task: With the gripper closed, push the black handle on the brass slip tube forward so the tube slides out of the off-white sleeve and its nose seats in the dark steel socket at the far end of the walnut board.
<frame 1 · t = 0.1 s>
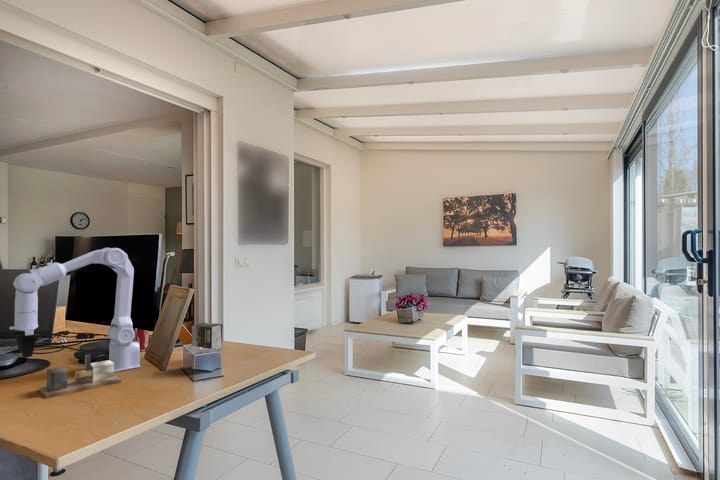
hand: (25, 354, 132), 10 cm above the table, tool pointing down, fingers open, 7 cm apart
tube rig: (81, 385, 133), on the table
soda can: (141, 350, 178), on the table
slip tube: (92, 365, 135), point 6 cm above the table, slide at 0.0 cm
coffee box: (206, 369, 153), on the table
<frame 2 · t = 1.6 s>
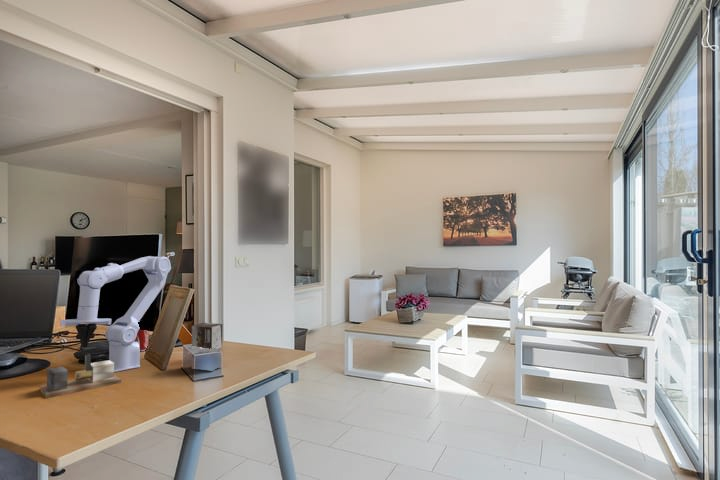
hand: (83, 346, 141), 10 cm above the table, tool pointing down, fingers closed
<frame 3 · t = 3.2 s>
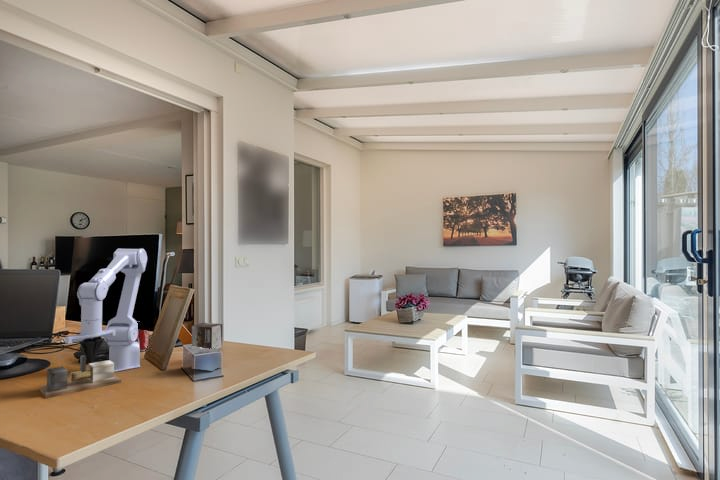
hand: (90, 361, 135), 7 cm above the table, tool pointing down, fingers closed
slip tube: (88, 366, 134), point 6 cm above the table, slide at 1.3 cm, touching gripper
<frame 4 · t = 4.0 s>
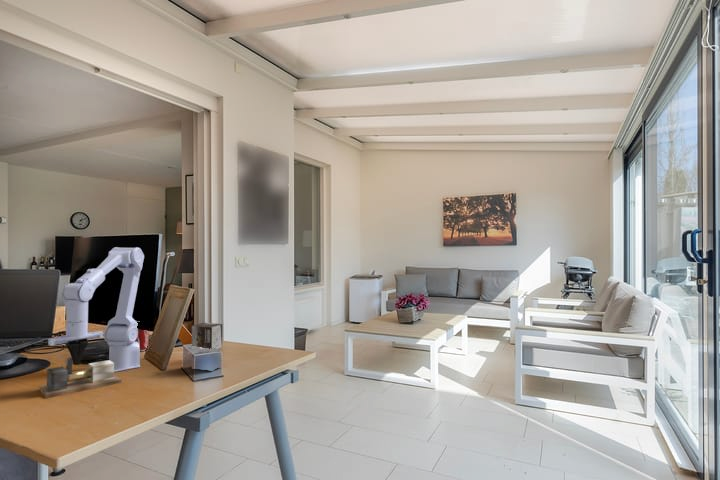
hand: (76, 364, 132), 7 cm above the table, tool pointing down, fingers closed
slip tube: (74, 369, 132), point 6 cm above the table, slide at 5.1 cm, touching gripper
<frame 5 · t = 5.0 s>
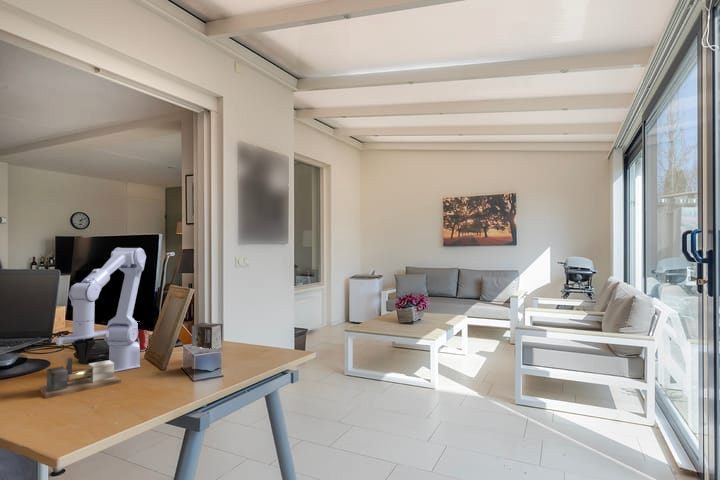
hand: (83, 363, 133), 7 cm above the table, tool pointing down, fingers closed
slip tube: (74, 369, 132), point 6 cm above the table, slide at 5.0 cm
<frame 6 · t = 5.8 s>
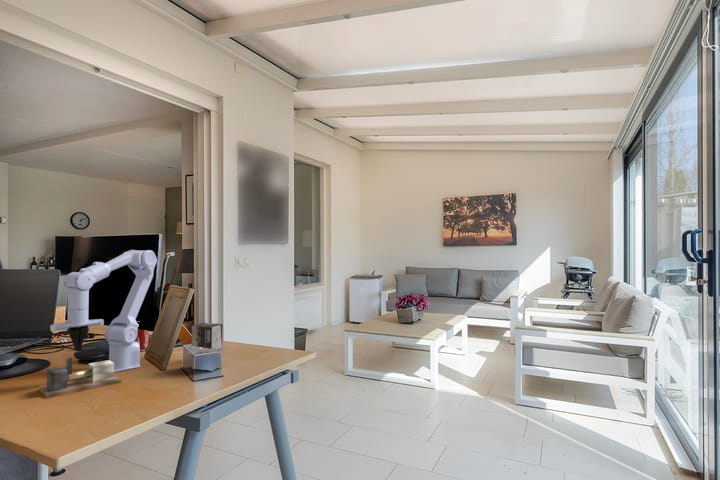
hand: (77, 350, 137), 10 cm above the table, tool pointing down, fingers closed
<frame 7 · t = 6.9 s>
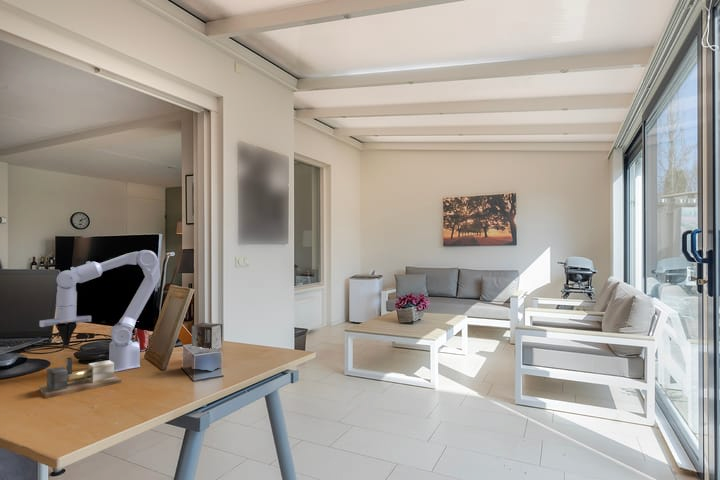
hand: (65, 345, 143), 10 cm above the table, tool pointing down, fingers closed
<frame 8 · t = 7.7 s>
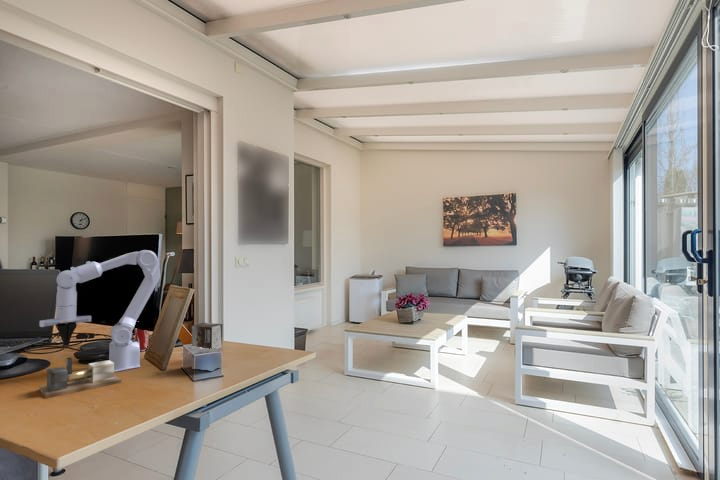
hand: (65, 345, 143), 10 cm above the table, tool pointing down, fingers closed
at the end: slip tube slide at 5.0 cm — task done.
